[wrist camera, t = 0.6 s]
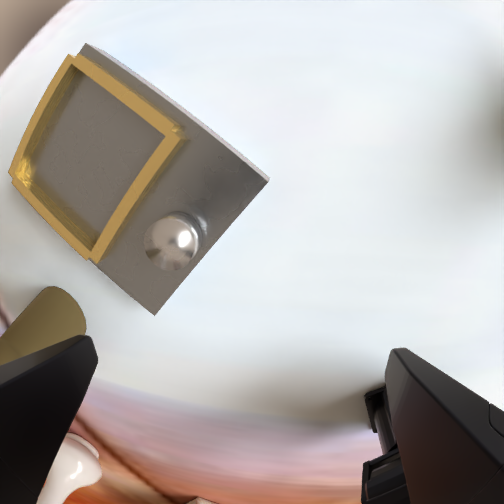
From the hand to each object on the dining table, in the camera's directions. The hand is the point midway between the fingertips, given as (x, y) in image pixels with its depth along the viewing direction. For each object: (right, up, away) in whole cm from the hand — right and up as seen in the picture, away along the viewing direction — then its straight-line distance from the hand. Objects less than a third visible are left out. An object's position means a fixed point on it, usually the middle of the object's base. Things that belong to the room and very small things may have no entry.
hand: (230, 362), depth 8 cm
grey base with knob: (-8, +9, +12) cm, 17 cm away
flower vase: (-24, -26, +25) cm, 43 cm away
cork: (-18, -3, +17) cm, 25 cm away
